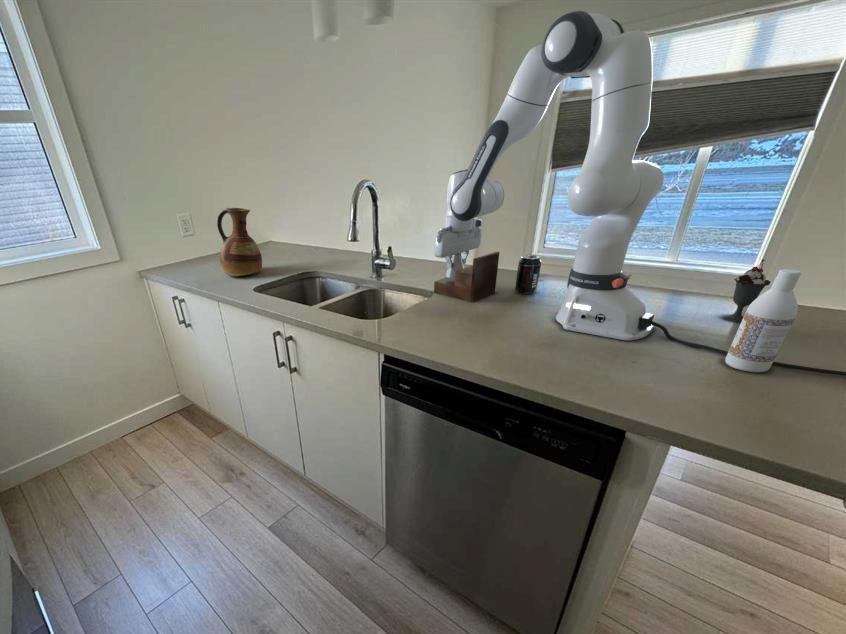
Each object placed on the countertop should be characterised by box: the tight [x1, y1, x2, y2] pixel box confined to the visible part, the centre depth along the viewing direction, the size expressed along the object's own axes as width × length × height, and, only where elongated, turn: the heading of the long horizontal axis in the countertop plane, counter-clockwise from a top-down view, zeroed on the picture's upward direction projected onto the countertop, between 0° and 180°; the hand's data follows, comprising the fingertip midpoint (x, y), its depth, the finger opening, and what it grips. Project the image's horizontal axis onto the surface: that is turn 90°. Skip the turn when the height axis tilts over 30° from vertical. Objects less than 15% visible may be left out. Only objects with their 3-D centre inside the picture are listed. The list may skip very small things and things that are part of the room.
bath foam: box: [724, 268, 802, 373], centre depth 80 cm, size 7×7×20 cm
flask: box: [445, 253, 465, 278], centre depth 140 cm, size 7×7×10 cm
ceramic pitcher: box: [216, 207, 263, 277], centre depth 188 cm, size 20×20×30 cm
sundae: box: [722, 259, 771, 323], centre depth 101 cm, size 7×7×15 cm
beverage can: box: [514, 254, 542, 295], centre depth 134 cm, size 7×7×12 cm
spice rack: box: [433, 251, 500, 303], centre depth 139 cm, size 17×12×14 cm
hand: (456, 265), depth 141 cm, fingers closed on flask, 5 cm apart
